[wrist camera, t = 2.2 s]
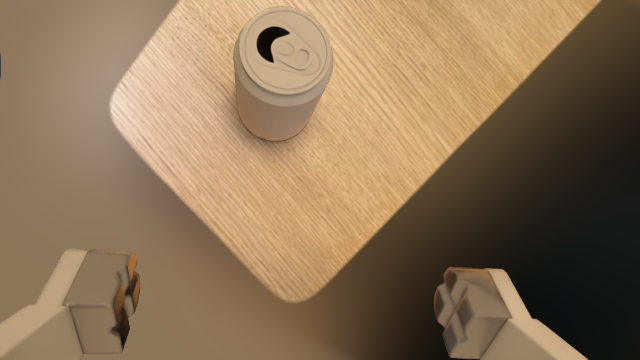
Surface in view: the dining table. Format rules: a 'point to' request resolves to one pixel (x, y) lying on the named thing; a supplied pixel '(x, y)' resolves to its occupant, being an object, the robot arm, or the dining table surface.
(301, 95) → the beverage can
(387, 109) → the dining table surface
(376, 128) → the dining table surface
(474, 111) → the dining table surface
